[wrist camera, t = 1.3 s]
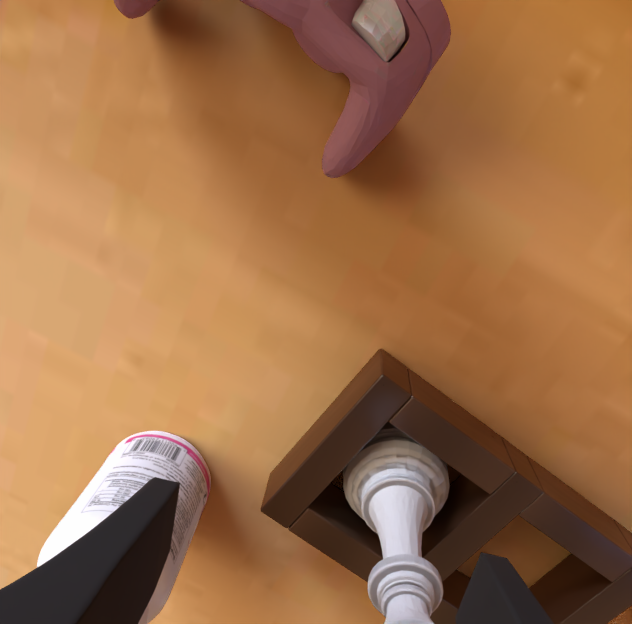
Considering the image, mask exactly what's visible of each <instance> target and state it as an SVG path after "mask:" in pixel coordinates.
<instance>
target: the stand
mask: <svg viewBox="0 0 632 624" xmlns="http://www.w3.org/2000/svg"><path fill="white" fill-rule="evenodd" d="M388 421H389V422H390V423H391V424H392V425H394V426H395V427H397V428H398V429H399V430H401V431H402V432H403V433H405V434H406V435H408V436H409V437H410V438H412V439H413V440H415V441H416V442H417V443H419V444H420V445H422V446H423V447H424V448H426V449H427V450H429V451H430V452H431V453H433V454H434V455H436V456H437V457H438V458H440V459H441V460H443V461H444V462H445V463H447V464H448V465H450V466H451V467H452V468H454V469H455V470H457V471H458V472H459V473H461V474H462V475H461V476H460V477H459V478H458V479H457V480H456V481H455V482H454V483H453V484H451V485H450V487H449V493H448V498H447V500H446V502H445V504H444V505H443V507H442V509H441V510H440V511H439V512H438V513H437V514H436V515H435V516H434V518H433V520H432V522H431V524H430V525H429V527H428V528H427V529H426V530H425V531H423V532H422V544H421V552H422V558H424V559H425V560H427V561H429V562H430V563H431V564H432V565H433V566H434V567H435V568H436V569H437V570H438V572H439V574H440V576H441V579H442V585H443V597H442V601H441V603H440V604H439V606H438V608H437V609H436V610H435V611H434V612H433V613H432V614H431V616H430V619H431V620H432V622H433V623H434V624H456V619H455V617H456V614H457V612H458V609H459V607H460V604H461V602H462V599H463V597H464V594H465V592H466V589H467V587H468V584H469V582H470V578H468V577H467V576H465V575H464V574H462V573H461V572H459V571H458V570H456V569H457V568H458V567H460V566H461V565H462V564H463V563H464V562H465V561H466V560H468V559H469V558H470V557H471V556H472V555H473V554H474V553H475V552H477V551H478V550H479V549H480V548H481V547H482V546H483V545H484V544H486V543H487V542H488V541H489V540H490V539H491V538H492V537H493V536H495V535H496V534H497V533H498V532H499V531H500V530H501V529H503V528H504V527H505V526H506V525H507V524H508V523H509V522H510V521H512V520H513V519H514V518H515V517H516V516H517V515H519V516H520V517H522V518H523V519H525V520H526V521H527V522H529V523H530V524H532V525H533V526H534V527H536V528H537V529H539V530H540V531H541V532H543V533H544V534H546V535H547V536H548V537H550V538H551V539H553V540H554V541H555V542H557V543H558V544H560V545H561V546H562V547H564V548H565V549H566V550H568V551H569V552H571V554H570V555H569V556H568V557H567V558H565V559H564V560H563V561H562V562H560V563H559V564H558V565H557V566H556V567H554V568H553V569H552V570H551V571H549V572H548V573H547V574H546V575H545V576H543V577H542V578H541V579H540V580H538V581H537V582H536V583H535V584H534V585H532V586H531V587H530V588H529V589H530V591H531V592H532V594H533V595H534V596H535V598H536V599H537V601H538V602H539V603H540V605H541V606H542V608H543V609H544V610H545V612H546V613H547V615H548V616H549V617H550V619H551V620H552V621H553V623H554V624H607V623H609V622H610V621H611V620H613V619H614V618H615V617H617V616H618V615H619V614H621V613H622V612H623V611H625V610H626V609H627V608H629V607H630V606H631V605H632V533H631V532H630V531H628V530H627V529H626V528H624V527H623V526H621V525H620V524H619V523H617V522H616V521H615V520H613V519H612V518H611V517H609V516H608V515H607V514H605V513H604V512H603V511H601V510H600V509H598V508H597V507H596V506H594V505H593V504H592V503H590V502H589V501H588V500H586V499H585V498H584V497H582V496H581V495H579V494H578V493H577V492H575V491H574V490H573V489H571V488H570V487H569V486H567V485H566V484H565V483H563V482H562V481H561V480H559V479H558V478H556V477H555V476H554V475H552V474H551V473H550V472H548V471H547V470H546V469H544V468H543V467H542V466H540V465H539V464H537V463H536V462H535V461H533V460H532V459H531V458H529V457H528V456H526V455H525V454H524V453H523V452H521V451H520V450H518V449H517V448H516V447H514V446H513V445H512V444H510V443H509V442H508V441H506V440H505V439H504V438H502V437H500V436H499V435H498V434H497V433H495V432H494V431H493V430H491V429H490V428H488V427H487V426H486V425H484V424H483V423H482V422H480V421H479V420H478V419H476V418H475V417H474V416H472V415H471V414H470V413H468V412H467V411H465V410H464V409H463V408H461V407H460V406H459V405H457V404H456V403H455V402H453V401H452V400H451V399H449V398H448V397H446V396H445V395H444V394H442V393H441V392H440V391H438V390H437V389H436V388H434V387H433V386H432V385H430V384H429V383H428V382H426V381H425V380H423V379H422V378H421V377H419V376H418V375H417V374H415V373H414V372H413V371H411V370H410V369H407V368H406V366H404V365H403V364H402V363H400V362H399V361H398V360H396V359H395V358H393V357H392V356H391V355H389V354H388V353H387V352H385V351H384V350H383V349H379V350H378V351H377V353H376V354H375V355H374V356H373V357H372V358H371V359H370V360H369V362H368V363H367V364H366V365H365V366H364V367H363V368H362V370H361V371H360V372H359V373H358V374H357V375H356V376H355V378H354V379H353V380H352V381H351V382H350V383H349V384H348V386H347V387H346V388H345V389H344V390H343V391H342V392H341V394H340V395H339V396H338V397H337V398H336V399H335V400H334V402H333V403H332V404H331V405H330V406H329V407H328V408H327V409H326V411H325V412H324V413H323V414H322V415H321V416H320V417H319V419H318V420H317V421H316V422H315V423H314V424H313V425H312V427H311V428H310V429H309V430H308V431H307V432H306V433H305V435H304V436H303V437H302V438H301V439H300V440H299V441H298V443H297V444H296V445H295V446H294V447H293V448H292V449H291V451H290V452H289V453H288V454H287V455H286V456H285V457H284V459H283V460H282V461H281V462H280V463H279V464H278V465H277V466H276V468H275V469H274V470H273V471H272V472H271V473H270V476H269V480H268V484H267V487H266V491H265V495H264V499H263V503H262V506H261V512H263V513H264V514H266V515H267V516H269V517H270V518H272V519H273V520H275V521H276V522H278V523H279V524H281V525H282V526H284V527H285V528H288V527H289V528H288V529H289V530H290V531H291V532H293V533H294V534H296V535H297V536H299V537H300V538H302V539H303V540H305V541H306V542H308V543H309V544H311V545H312V546H314V547H315V548H317V549H318V550H320V551H321V552H323V553H324V554H326V555H327V556H329V557H330V558H332V559H333V560H335V561H336V562H338V563H339V564H341V565H342V566H344V567H345V568H347V569H348V570H350V571H351V572H353V573H355V574H356V575H358V576H359V577H361V578H362V579H364V580H365V581H367V582H368V577H369V575H370V573H371V570H372V568H373V567H374V566H375V565H376V564H377V563H378V562H379V561H381V560H383V554H382V548H381V543H380V539H379V536H378V534H377V533H376V532H374V531H373V530H372V529H371V528H370V527H369V526H368V525H367V524H366V522H365V520H363V519H362V518H361V517H360V516H359V515H358V514H357V513H356V512H355V511H354V510H353V509H352V508H351V506H350V505H349V503H348V501H347V499H346V497H345V493H344V492H342V491H341V490H339V489H338V488H336V487H335V486H334V485H332V484H331V482H332V481H333V479H334V478H335V477H336V476H337V475H338V474H339V473H340V472H341V471H342V470H343V469H344V468H345V467H346V466H347V464H348V463H349V462H350V461H351V460H352V459H353V458H354V457H355V456H356V455H357V454H358V453H359V452H360V451H361V450H362V448H363V447H364V446H365V445H366V444H367V443H368V442H369V441H370V440H371V439H372V438H373V437H374V436H375V435H376V434H377V432H378V431H379V430H380V429H381V428H382V427H383V426H384V425H385V424H386V423H387V422H388Z"/></svg>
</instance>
